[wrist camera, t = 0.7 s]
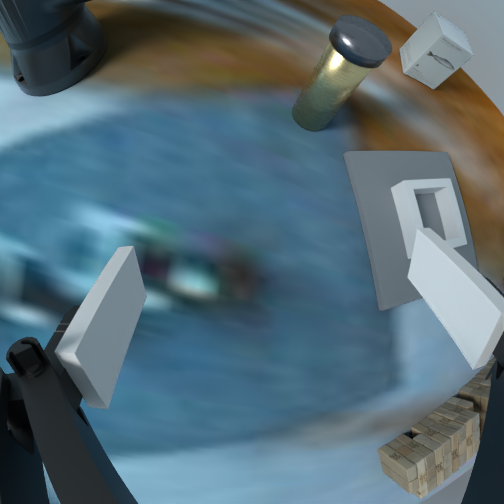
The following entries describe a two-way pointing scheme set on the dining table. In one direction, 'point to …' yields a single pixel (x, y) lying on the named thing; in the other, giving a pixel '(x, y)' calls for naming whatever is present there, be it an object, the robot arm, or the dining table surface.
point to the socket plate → (405, 213)
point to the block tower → (439, 440)
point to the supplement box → (435, 51)
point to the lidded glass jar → (340, 70)
